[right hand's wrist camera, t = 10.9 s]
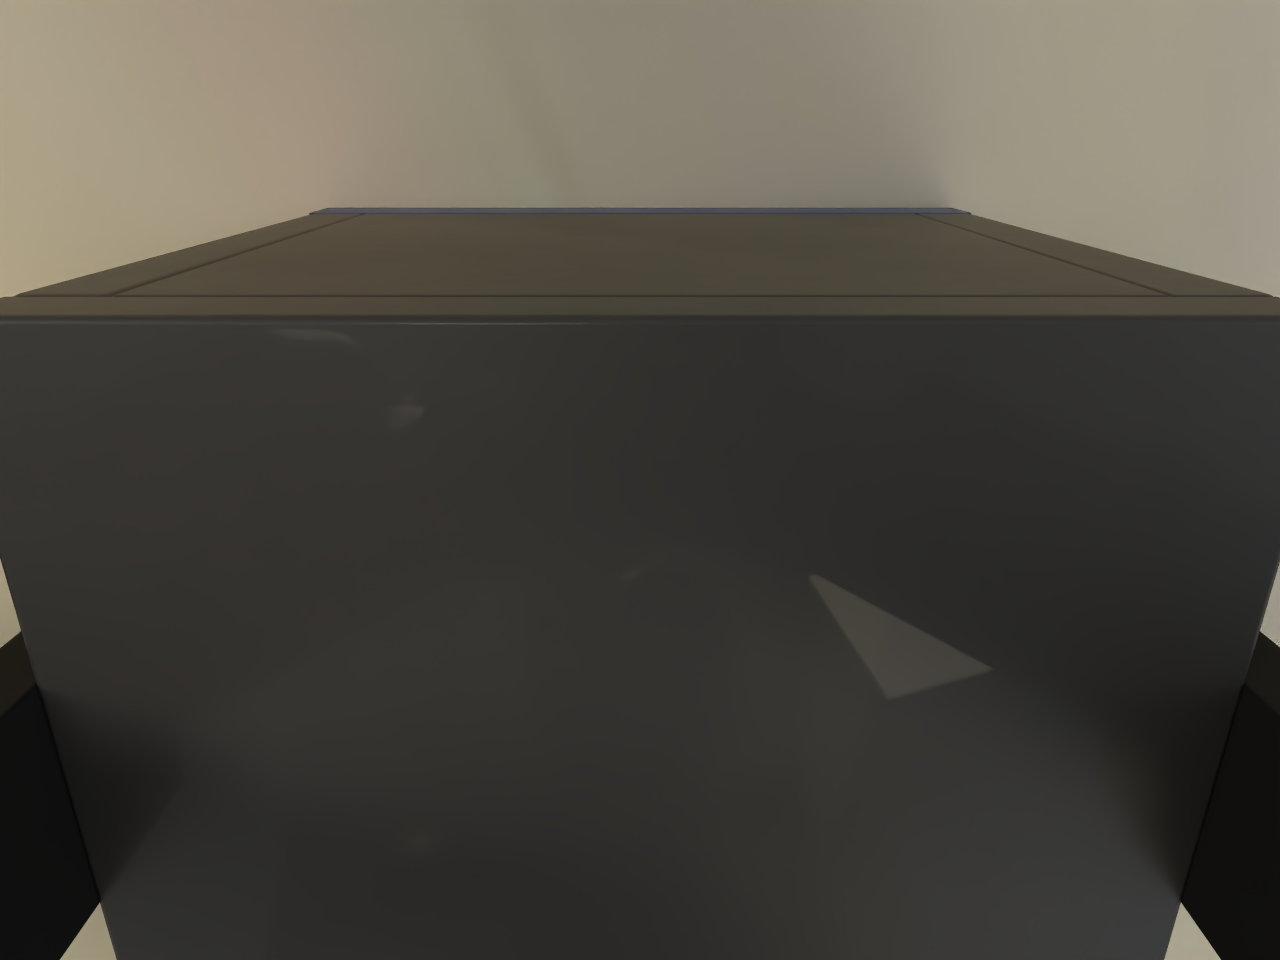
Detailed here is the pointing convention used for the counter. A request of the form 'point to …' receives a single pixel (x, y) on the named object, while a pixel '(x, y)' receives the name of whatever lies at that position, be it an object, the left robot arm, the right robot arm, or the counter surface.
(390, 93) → the counter surface
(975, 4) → the counter surface
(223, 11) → the counter surface
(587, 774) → the cabinet
